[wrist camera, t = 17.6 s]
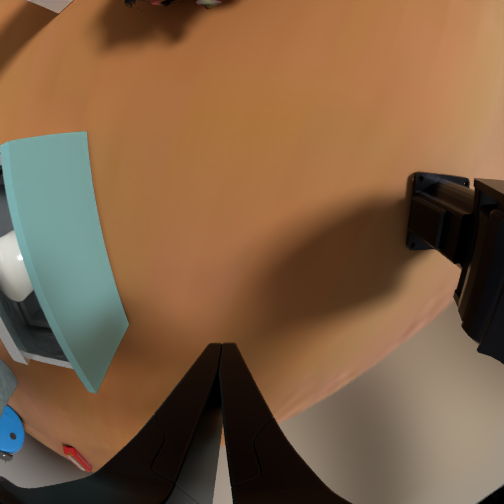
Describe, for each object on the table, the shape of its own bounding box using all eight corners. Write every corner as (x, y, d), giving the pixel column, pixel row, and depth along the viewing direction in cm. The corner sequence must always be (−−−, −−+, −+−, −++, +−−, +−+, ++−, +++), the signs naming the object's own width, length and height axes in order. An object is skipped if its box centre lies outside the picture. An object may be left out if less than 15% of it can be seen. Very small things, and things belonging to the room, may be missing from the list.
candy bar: (94, 467, 46) (92, 475, 43) (83, 463, 46) (80, 471, 43) (75, 445, 40) (71, 455, 37) (62, 440, 39) (59, 449, 37)
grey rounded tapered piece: (47, 217, 17) (13, 238, 13) (63, 274, 19) (36, 303, 15) (12, 224, 17) (-19, 243, 13) (28, 275, 19) (2, 299, 15)
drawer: (86, 131, 16) (8, 141, 8) (129, 324, 23) (96, 393, 15) (2, 163, 16) (-62, 186, 8) (46, 318, 23) (9, 368, 15)
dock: (78, 133, 16) (13, 142, 9) (121, 323, 23) (92, 380, 16) (-2, 165, 16) (-56, 184, 9) (42, 316, 23) (9, 359, 16)
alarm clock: (-8, 396, 35) (-29, 435, 21) (-9, 389, 33) (-32, 430, 20) (30, 427, 39) (13, 468, 25) (31, 423, 37) (12, 467, 24)
